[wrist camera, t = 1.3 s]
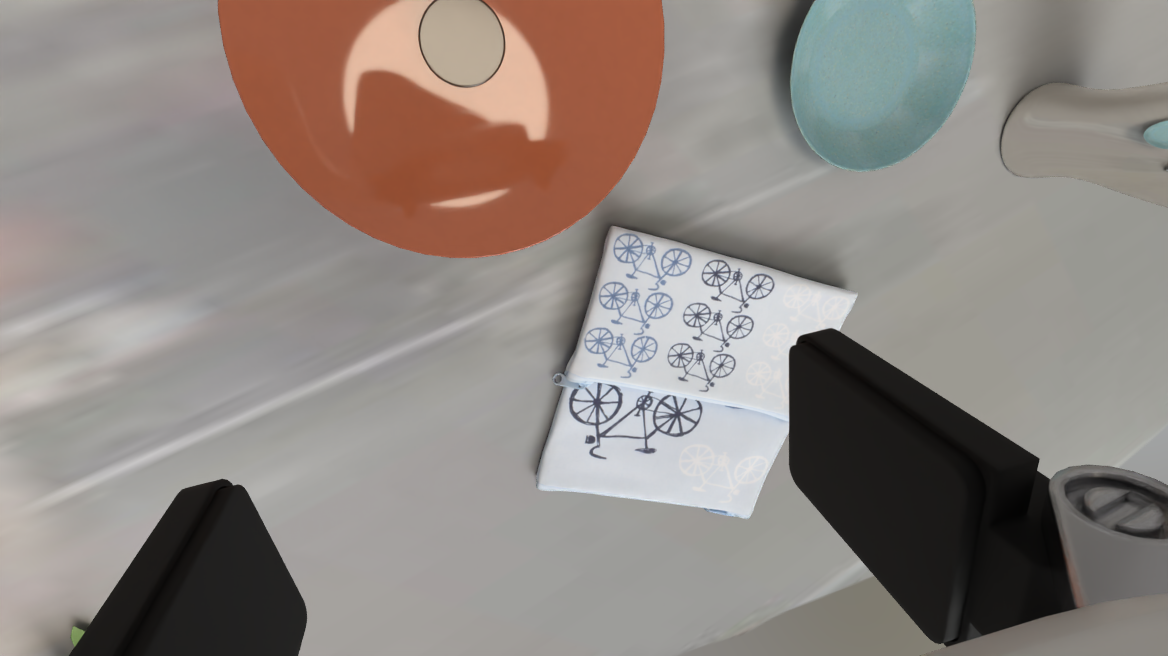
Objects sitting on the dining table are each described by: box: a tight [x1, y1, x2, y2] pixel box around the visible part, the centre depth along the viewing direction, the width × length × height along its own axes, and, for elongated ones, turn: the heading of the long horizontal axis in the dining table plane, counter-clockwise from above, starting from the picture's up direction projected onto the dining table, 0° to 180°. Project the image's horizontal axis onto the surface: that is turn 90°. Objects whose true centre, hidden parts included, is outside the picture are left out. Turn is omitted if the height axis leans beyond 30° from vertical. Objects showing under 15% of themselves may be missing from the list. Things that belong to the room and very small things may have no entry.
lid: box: [218, 0, 664, 258], centre depth 20 cm, size 16×16×6 cm
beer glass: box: [1001, 82, 1168, 208], centre depth 32 cm, size 7×7×15 cm
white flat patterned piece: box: [536, 226, 858, 519], centre depth 40 cm, size 19×20×2 cm
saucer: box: [790, 0, 976, 172], centre depth 33 cm, size 12×12×2 cm
